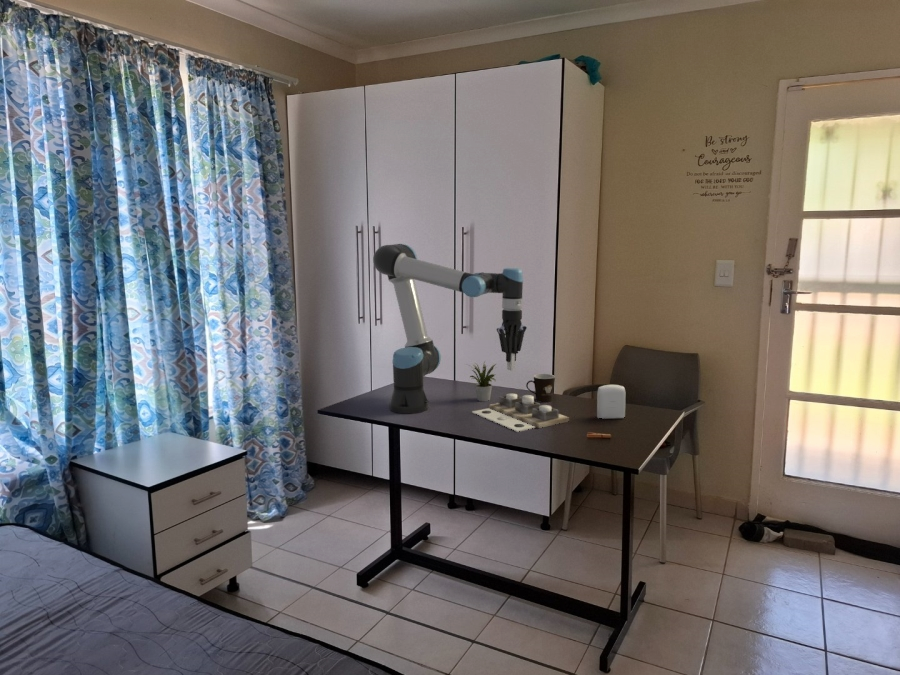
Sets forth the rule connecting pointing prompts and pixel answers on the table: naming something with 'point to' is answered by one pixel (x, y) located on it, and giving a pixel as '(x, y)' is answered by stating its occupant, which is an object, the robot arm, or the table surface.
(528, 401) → the button middle
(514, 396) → the button
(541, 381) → the coffee mug
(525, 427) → the pattern card
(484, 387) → the house plant
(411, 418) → the table surface
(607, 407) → the photo printer
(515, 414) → the button board
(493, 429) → the table surface
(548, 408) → the button
